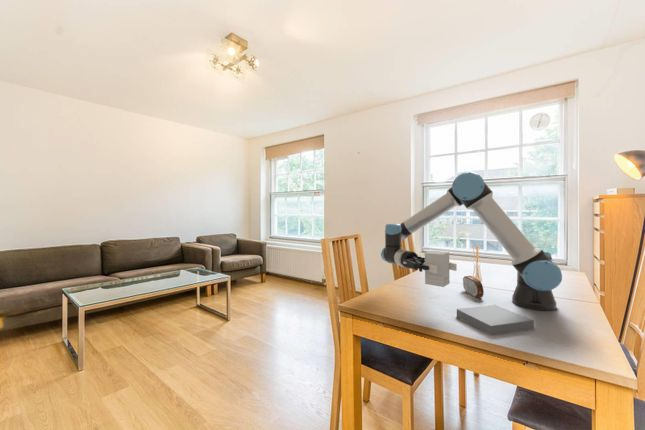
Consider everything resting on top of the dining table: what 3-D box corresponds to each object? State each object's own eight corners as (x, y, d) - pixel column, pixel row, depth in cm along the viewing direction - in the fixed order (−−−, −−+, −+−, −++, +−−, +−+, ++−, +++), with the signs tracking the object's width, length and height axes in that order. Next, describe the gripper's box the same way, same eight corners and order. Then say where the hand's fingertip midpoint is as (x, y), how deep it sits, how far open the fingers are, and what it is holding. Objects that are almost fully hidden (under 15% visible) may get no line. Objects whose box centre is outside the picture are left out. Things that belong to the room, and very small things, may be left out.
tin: (484, 300, 126) (484, 281, 126) (477, 300, 126) (477, 281, 126) (468, 290, 141) (468, 273, 141) (461, 290, 141) (461, 273, 141)
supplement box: (450, 283, 111) (450, 252, 111) (443, 287, 105) (443, 254, 105) (431, 280, 116) (431, 250, 116) (424, 284, 111) (424, 252, 110)
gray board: (495, 312, 112) (495, 304, 111) (534, 328, 96) (534, 320, 96) (456, 316, 107) (456, 308, 107) (490, 334, 92) (490, 325, 92)
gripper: (425, 264, 131) (466, 275, 111) (386, 269, 123) (424, 281, 102) (425, 249, 131) (466, 256, 111) (386, 252, 123) (424, 261, 102)
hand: (446, 268), depth 106 cm, fingers closed on supplement box, 9 cm apart
